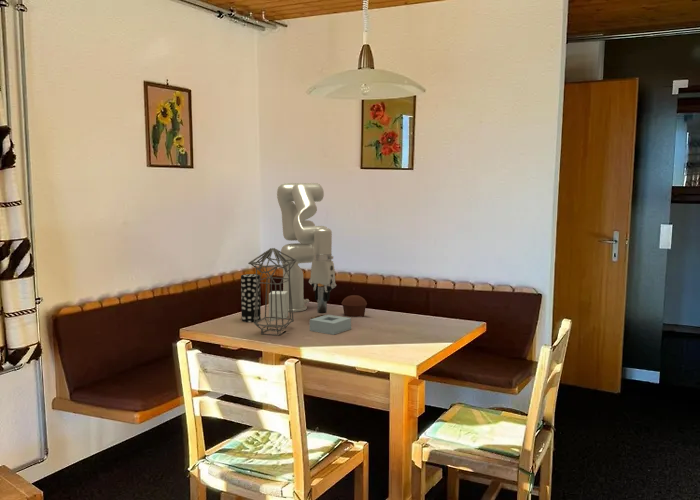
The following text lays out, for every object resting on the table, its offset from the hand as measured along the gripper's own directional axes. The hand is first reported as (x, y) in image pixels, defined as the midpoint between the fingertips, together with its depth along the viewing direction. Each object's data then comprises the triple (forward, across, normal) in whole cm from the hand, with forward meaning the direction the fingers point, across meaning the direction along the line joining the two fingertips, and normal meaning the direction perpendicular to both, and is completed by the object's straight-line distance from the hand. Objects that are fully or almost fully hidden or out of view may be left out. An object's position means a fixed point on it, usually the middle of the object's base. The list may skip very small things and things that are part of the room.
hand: (322, 299), depth 274 cm
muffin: (+12, -2, -21) cm, 25 cm away
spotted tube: (+12, +32, +10) cm, 36 cm away
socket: (+11, -11, +9) cm, 18 cm away
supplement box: (+12, +22, +3) cm, 25 cm away
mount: (+11, -1, +1) cm, 11 cm away
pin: (+5, 0, 0) cm, 5 cm away
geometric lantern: (+11, +8, +22) cm, 26 cm away
